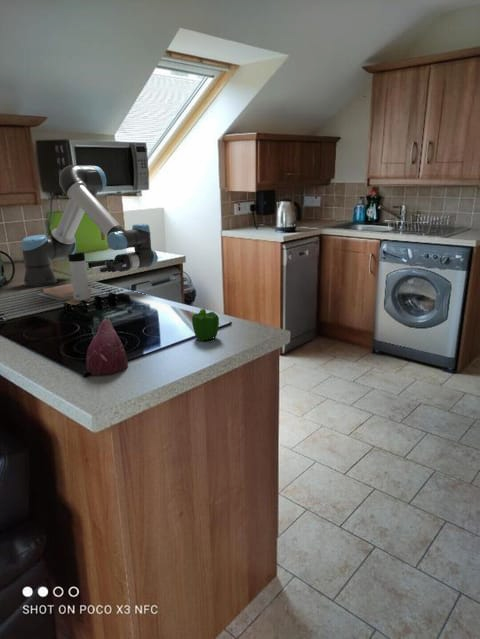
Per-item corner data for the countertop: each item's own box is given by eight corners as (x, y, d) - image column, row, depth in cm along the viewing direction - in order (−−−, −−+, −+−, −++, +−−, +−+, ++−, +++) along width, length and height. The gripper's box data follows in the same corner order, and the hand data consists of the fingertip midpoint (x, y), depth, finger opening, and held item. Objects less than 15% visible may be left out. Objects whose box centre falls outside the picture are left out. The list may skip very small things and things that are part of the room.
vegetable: (102, 371, 128) (98, 317, 128) (135, 370, 125) (131, 315, 125) (78, 377, 118) (73, 318, 118) (113, 376, 115) (108, 315, 115)
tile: (71, 283, 216) (43, 288, 206) (91, 287, 206) (62, 293, 196) (72, 287, 217) (43, 293, 206) (91, 292, 207) (63, 298, 196)
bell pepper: (205, 332, 149) (204, 302, 146) (224, 337, 144) (223, 306, 141) (186, 339, 143) (184, 308, 140) (206, 344, 138) (204, 312, 135)
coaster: (69, 300, 195) (68, 298, 195) (98, 298, 197) (98, 296, 197) (64, 307, 184) (63, 305, 183) (95, 305, 186) (95, 303, 185)
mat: (80, 286, 222) (80, 285, 222) (104, 291, 210) (104, 290, 209) (36, 295, 206) (36, 294, 206) (60, 301, 193) (59, 300, 193)
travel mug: (79, 303, 185) (73, 253, 180) (71, 301, 190) (64, 252, 184) (93, 300, 190) (87, 251, 184) (85, 298, 194) (79, 250, 188)
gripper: (144, 273, 196) (101, 282, 181) (110, 267, 212) (67, 275, 197) (143, 255, 194) (99, 263, 179) (108, 251, 210) (65, 257, 195)
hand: (82, 269), depth 188 cm, fingers open, 13 cm apart
